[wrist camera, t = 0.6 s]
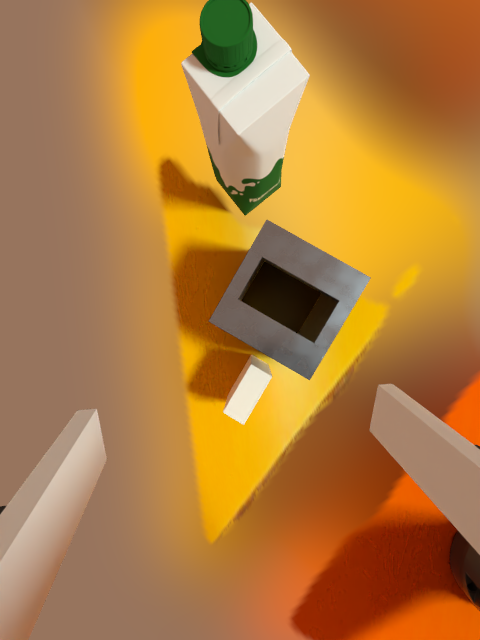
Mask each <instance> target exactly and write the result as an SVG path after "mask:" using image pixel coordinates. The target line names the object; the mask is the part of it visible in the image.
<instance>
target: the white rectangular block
mask: <svg viewBox="0 0 480 640" xmlns="http://www.w3.org/2000/svg"><path fill="white" fill-rule="evenodd" d="M271 378H272V375H271V371H270V368H269V365H268V364H267V363H265V362H264V361H262V360H260V359H258V358H257V357H255V356H253V355H252V354H251V356H250V358H249V359H248V361H247V363H246V365H245V366H244V368H243V370H242V371H241V373H240V375H239V377H238V378H237V380H236V382H235V383H234V385H233V387H232V389H231V390H230V392H229V395H228V398H227V401H226V404H225V407H224V411H223V413H225V414H226V415H228V416H230V417H231V418H233V419H235V420H236V421H238V422H240V423H241V424H243V425H244V424H245V422H246V420H247V418H248V417H249V415H250V413H251V412H252V410H253V408H254V407H255V405H256V403H257V401H258V400H259V398H260V396H261V395H262V393H263V391H264V390H265V388H266V386H267V385H268V383H269V381H270V379H271Z"/></svg>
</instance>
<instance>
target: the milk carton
mask: <svg viewBox="0 0 480 640" xmlns="http://www.w3.org/2000/svg"><path fill="white" fill-rule="evenodd" d="M200 30H201V35H202V43H201V45H200V46H198V47H197V48H195V49H194V50H193V51H192V53H193V54H191V55H190V56H189V57H188V58H186V59H185V60H184V61H183V62H182V67H183V70H184V73H185V76H186V79H187V82H188V85H189V88H190V91H191V94H192V97H193V100H194V103H195V106H196V109H197V112H198V115H199V119H200V122H201V126H202V130H203V133H204V137H205V140H206V144H207V148H208V152H209V156H210V159H211V163H212V167H213V170H214V174H215V176H216V179H217V181H218V182H219V184H220V185H221V186H222V187H223V189H224V190H225V191H226V192H227V194H228V195H229V196H230V197H231V199H232V200H233V201H234V202H235V204H236V205H237V206H238V207H239V208H240V210H241V211H242V212H243V214H244V215H247V214H248V213H249V212H250V211H252V210H253V209H254V208H255V207H257V206H258V205H259V204H260V203H261V202H263V201H264V200H265V199H266V198H268V197H269V196H270V195H271V194H272V193H274V192H275V191H276V190H277V189H279V188H280V187H281V169H282V164H283V159H284V153H285V148H286V143H287V138H288V133H289V129H290V126H291V123H292V120H293V118H294V115H295V113H296V110H297V107H298V104H299V102H300V99H301V96H302V94H303V91H304V89H305V86H306V83H307V81H308V78H309V76H310V75H309V73H308V72H307V71H306V70H305V68H304V67H303V66H302V65H301V64H300V63H299V62H298V60H297V59H296V57H295V56H294V55H293V54H292V49H291V48H290V46H289V45H288V44H287V43H286V41H284V39H282V38H281V37H280V36H279V34H278V33H277V32H276V31H275V30H274V28H273V27H272V26H271V25H270V24H269V23H268V21H267V20H266V19H265V18H264V16H263V15H262V14H261V13H260V12H259V10H258V9H257V8H256V7H255V6H254V5H253V4H252V3H250V4H248V2H247V1H246V0H209V1H208V2H207V3H206V4H205V6H204V8H203V10H202V12H201V16H200Z"/></svg>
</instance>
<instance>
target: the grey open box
mask: <svg viewBox="0 0 480 640" xmlns="http://www.w3.org/2000/svg"><path fill="white" fill-rule="evenodd" d="M264 261H265V262H267V263H269V264H271V265H272V266H274V267H276V268H278V269H279V270H281V271H283V272H285V273H287V274H288V275H290V276H292V277H294V278H295V279H297V280H299V281H301V282H302V283H304V284H306V285H308V286H309V287H311V288H313V289H315V290H316V291H318V292H320V293H321V295H320V296H319V298H318V300H317V302H316V303H315V305H314V307H313V308H312V310H311V312H310V313H309V315H308V317H307V319H306V320H305V322H304V324H303V325H302V327H301V329H300V330H299V332H298V334H297V333H296V332H294V331H292V330H290V329H289V328H287V327H285V326H283V325H282V324H280V323H278V322H276V321H275V320H273V319H271V318H269V317H268V316H266V315H264V314H263V313H261V312H259V311H257V310H256V309H254V308H252V307H250V306H249V305H247V304H245V303H243V302H242V299H243V297H244V296H245V294H246V292H247V290H248V289H249V287H250V285H251V284H252V282H253V280H254V278H255V277H256V275H257V273H258V271H259V270H260V268H261V266H262V264H263V263H264ZM369 280H370V277H368V276H367V275H365V274H363V273H361V272H359V271H358V270H356V269H354V268H352V267H351V266H349V265H347V264H345V263H343V262H342V261H340V260H338V259H336V258H334V257H333V256H331V255H329V254H327V253H326V252H324V251H322V250H320V249H318V248H317V247H315V246H313V245H311V244H310V243H307V242H306V241H304V240H302V239H300V238H299V237H297V236H295V235H293V234H292V233H290V232H288V231H286V230H285V229H283V228H281V227H279V226H277V225H276V224H274V223H272V222H270V221H268V220H266V222H265V223H264V225H263V227H262V229H261V230H260V232H259V234H258V236H257V237H256V239H255V241H254V243H253V244H252V246H251V248H250V250H249V251H248V253H247V255H246V257H245V258H244V260H243V262H242V264H241V265H240V267H239V269H238V271H237V272H236V274H235V276H234V278H233V279H232V281H231V283H230V285H229V286H228V288H227V290H226V292H225V293H224V295H223V297H222V299H221V300H220V302H219V304H218V306H217V307H216V309H215V311H214V313H213V314H212V316H211V318H210V320H209V322H211V323H212V324H214V325H216V326H217V327H219V328H221V329H223V330H224V331H226V332H228V333H229V334H231V335H233V336H235V337H236V338H238V339H240V340H241V341H243V342H245V343H247V344H248V345H250V346H252V347H253V348H255V349H257V350H259V351H260V352H262V353H264V354H265V355H267V356H269V357H271V358H272V359H274V360H276V361H277V362H279V363H281V364H283V365H284V366H286V367H288V368H289V369H291V370H293V371H295V372H296V373H298V374H300V375H301V376H303V377H305V378H307V379H308V380H310V379H311V377H312V375H313V374H314V372H315V370H316V369H317V367H318V365H319V364H320V362H321V360H322V359H323V357H324V355H325V354H326V352H327V350H328V349H329V347H330V345H331V344H332V342H333V340H334V339H335V337H336V335H337V334H338V332H339V330H340V328H341V327H342V325H343V323H344V322H345V320H346V318H347V317H348V315H349V313H350V312H351V310H352V308H353V307H354V305H355V303H356V302H357V300H358V298H359V297H360V295H361V293H362V292H363V290H364V288H365V287H366V285H367V283H368V282H369Z"/></svg>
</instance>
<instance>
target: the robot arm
mask: <svg viewBox="0 0 480 640" xmlns="http://www.w3.org/2000/svg"><path fill="white" fill-rule="evenodd" d="M370 431H371V433H372V434H373V435H374V436H375V437H376V438H377V439H378V440H379V442H380V443H381V444H382V445H383V446H384V447H385V448H386V450H387V451H388V452H389V453H390V454H391V455H392V456H393V457H394V459H395V460H396V461H397V462H398V463H399V464H400V465H401V467H402V468H403V469H404V470H405V471H406V472H407V473H408V474H409V476H410V477H411V478H412V479H413V480H414V481H415V482H416V483H417V485H418V486H419V487H420V488H421V489H422V490H423V491H424V493H425V494H426V495H427V496H428V497H429V498H430V499H431V500H432V502H433V503H434V504H435V505H436V506H437V507H438V508H439V509H440V511H441V512H442V513H443V514H444V515H445V516H446V517H447V519H448V520H449V521H450V522H451V523H452V524H453V525H454V526H455V528H456V529H457V530H458V532H457V534H456V536H455V538H454V540H453V542H452V546H451V550H450V565H451V570H452V573H453V576H454V578H455V580H456V582H457V584H458V585H459V587H460V588H461V589H462V591H463V592H464V593H465V594H466V596H467V597H468V598H469V600H470V601H471V602H472V603H473V605H474V606H475V607H476V608H477V609H478V610H479V611H480V446H478V445H473V444H472V443H470V442H469V441H468V440H466V439H465V438H464V437H462V436H461V435H460V434H458V433H457V432H456V431H454V430H453V429H452V428H450V427H449V426H448V425H446V424H445V423H444V422H442V421H441V420H440V419H438V418H437V417H436V416H434V415H433V414H432V413H430V412H429V411H428V410H426V409H425V408H424V407H422V406H421V405H419V404H418V403H417V402H416V401H414V400H413V399H412V398H410V397H409V396H408V395H406V394H405V393H404V392H402V391H401V390H400V389H398V388H397V387H396V386H394V385H393V384H384V385H378V389H377V394H376V399H375V404H374V410H373V415H372V420H371V425H370ZM106 460H107V457H106V452H105V447H104V443H103V437H102V432H101V427H100V422H99V417H98V413H97V409H86V410H77V411H76V413H75V414H74V415H73V417H72V418H71V419H70V421H69V422H68V424H67V425H66V426H65V428H64V429H63V430H62V432H61V433H60V434H59V436H58V437H57V438H56V440H55V441H54V443H53V444H52V445H51V447H50V448H49V449H48V451H47V452H46V454H45V455H44V456H43V458H42V459H41V460H40V462H39V463H38V464H37V466H36V467H35V468H34V470H33V471H32V472H31V474H30V475H29V476H28V478H27V479H26V480H25V482H24V483H23V485H22V486H21V487H20V489H19V490H18V492H17V493H16V494H15V495H14V497H13V498H12V500H11V501H10V502H9V504H8V505H7V506H2V507H0V640H28V639H29V637H30V635H31V632H32V630H33V628H34V626H35V623H36V621H37V619H38V617H39V614H40V612H41V609H42V607H43V605H44V603H45V601H46V598H47V596H48V594H49V591H50V589H51V587H52V584H53V582H54V580H55V578H56V575H57V573H58V571H59V568H60V566H61V564H62V562H63V559H64V557H65V555H66V552H67V550H68V548H69V545H70V543H71V541H72V539H73V536H74V534H75V532H76V529H77V527H78V525H79V522H80V520H81V518H82V516H83V513H84V511H85V509H86V506H87V504H88V502H89V500H90V497H91V495H92V493H93V490H94V488H95V486H96V483H97V481H98V479H99V476H100V474H101V472H102V470H103V467H104V465H105V463H106Z"/></svg>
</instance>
